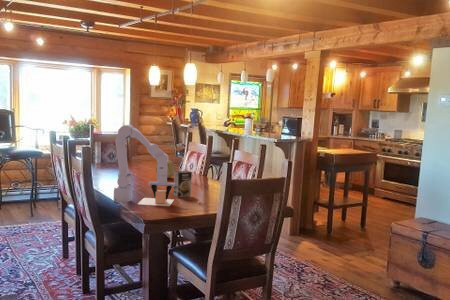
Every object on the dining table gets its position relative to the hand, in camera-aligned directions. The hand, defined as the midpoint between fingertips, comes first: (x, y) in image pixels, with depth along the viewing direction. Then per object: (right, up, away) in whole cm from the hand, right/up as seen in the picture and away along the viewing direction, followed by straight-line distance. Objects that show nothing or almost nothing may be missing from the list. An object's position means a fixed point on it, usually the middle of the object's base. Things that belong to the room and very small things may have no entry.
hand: (161, 198), depth 241 cm
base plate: (-3, -3, +2) cm, 5 cm away
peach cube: (0, -2, 0) cm, 2 cm away
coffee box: (+9, -2, +23) cm, 25 cm away
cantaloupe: (-10, +5, +88) cm, 89 cm away
